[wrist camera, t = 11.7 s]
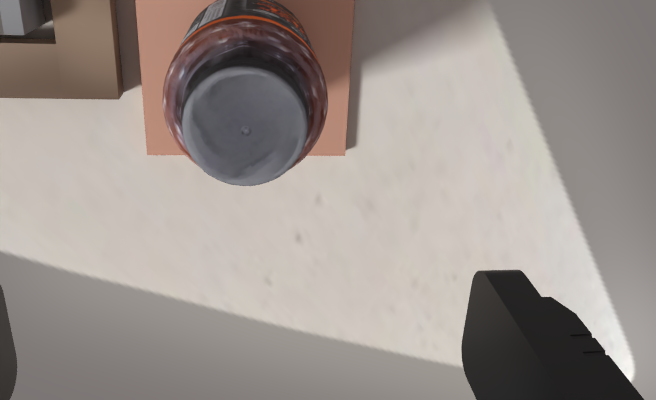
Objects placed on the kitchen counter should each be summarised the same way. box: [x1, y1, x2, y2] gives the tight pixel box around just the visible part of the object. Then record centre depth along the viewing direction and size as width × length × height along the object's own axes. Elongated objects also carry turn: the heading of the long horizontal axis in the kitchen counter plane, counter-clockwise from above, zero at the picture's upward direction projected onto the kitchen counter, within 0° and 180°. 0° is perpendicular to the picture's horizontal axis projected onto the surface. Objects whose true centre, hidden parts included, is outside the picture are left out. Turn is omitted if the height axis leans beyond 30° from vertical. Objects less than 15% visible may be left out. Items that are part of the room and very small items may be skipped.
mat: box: [135, 0, 355, 156], centre depth 30 cm, size 10×10×1 cm
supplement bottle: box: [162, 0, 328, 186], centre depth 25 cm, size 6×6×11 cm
